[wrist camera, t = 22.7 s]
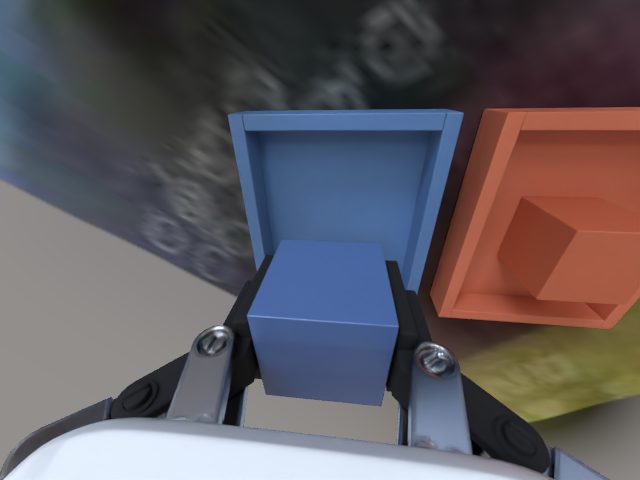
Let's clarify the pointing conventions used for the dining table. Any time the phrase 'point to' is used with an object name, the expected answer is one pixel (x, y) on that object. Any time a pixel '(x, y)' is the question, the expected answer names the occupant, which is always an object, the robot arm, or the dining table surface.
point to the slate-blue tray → (346, 178)
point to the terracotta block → (574, 249)
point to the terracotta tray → (534, 181)
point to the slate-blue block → (325, 322)
